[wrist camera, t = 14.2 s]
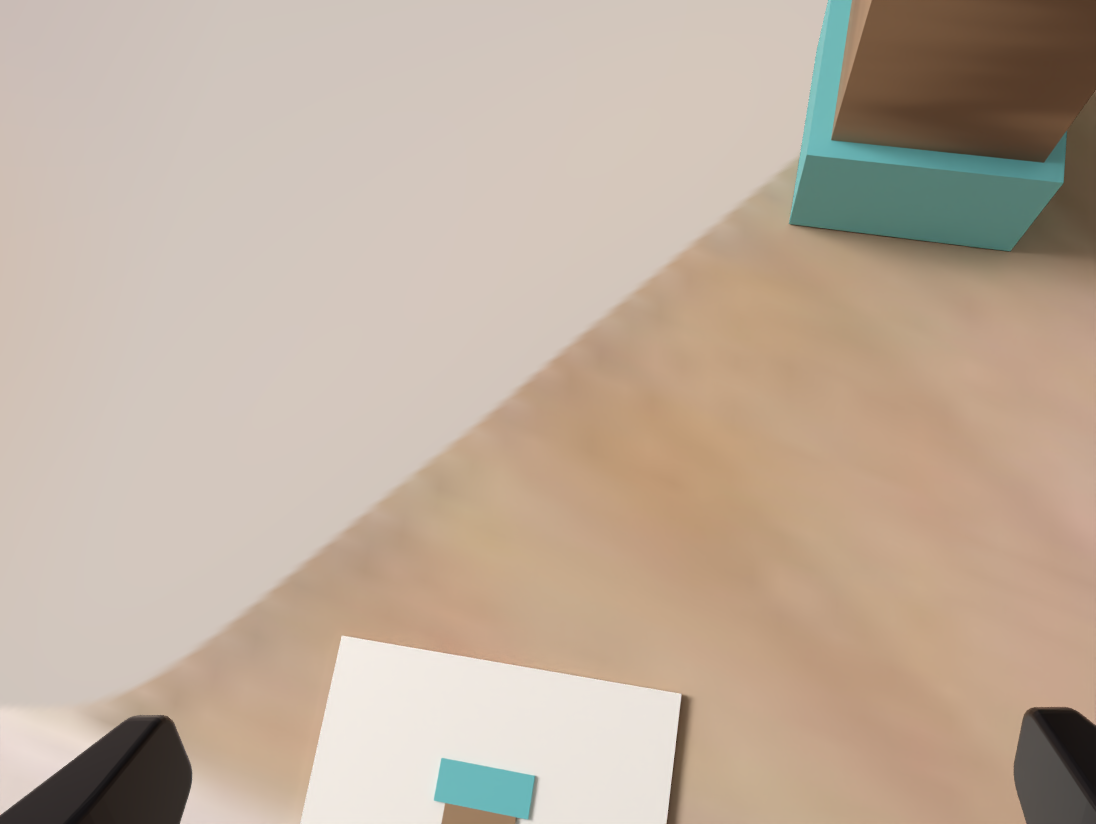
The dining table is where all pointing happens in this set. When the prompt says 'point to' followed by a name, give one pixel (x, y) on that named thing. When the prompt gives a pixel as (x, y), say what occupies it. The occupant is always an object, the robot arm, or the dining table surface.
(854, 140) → the walnut brick
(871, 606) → the dining table surface
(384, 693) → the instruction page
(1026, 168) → the teal base block
